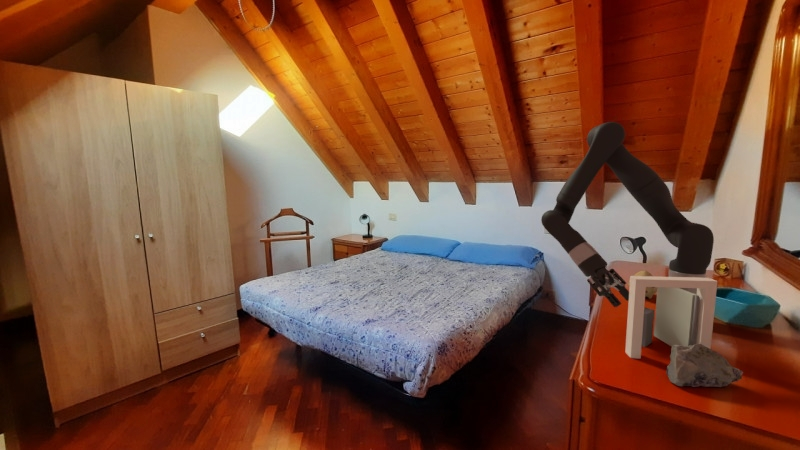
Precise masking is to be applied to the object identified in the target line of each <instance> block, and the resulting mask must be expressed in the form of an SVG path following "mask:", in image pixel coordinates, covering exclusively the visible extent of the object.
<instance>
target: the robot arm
mask: <svg viewBox="0 0 800 450" xmlns="http://www.w3.org/2000/svg"><path fill="white" fill-rule="evenodd" d="M625 137H626V131H625V128H624V126H623V125H622V124H621V123H619V122H615V121H607V122H604V123H600V124H598V125H597V126H594V127H592V129H591V130H590V131H589V132H588V134H587V137H586V142H587V145H588V147H589V149H587V153H586V154H585V156H584V157H583V159H582V160H581V162H580V163H579V165H578V166H577V167H576V168H575V170H574V171H573V172H572V173H571V175H570V176H569V177H568V178H567V179H566V181H565V182H564V185H563V186H562V188H561V189H560V190H559V192H558V194H557V196H556V199H555V200H556V201H555V202H556V203H555V206H554V208H553V209H550V210H547V211H545V212H544V213H543V214H542V216H541V224H542V226H543V228H544V229H545V230H546V232H548V233H549V234H550V235H551V236H552V237H553V238H554V239H555V240H556V241H557V242H558V243H559V244H560V245H561V247H562V248H563V249H564V251H565V252H566V253H567V254H568V255H569V257H570V258H571V260H572V261H573V263H574V264H575V265H576V266H577V267H578V269H579V270H580V271H581V273H582V274H583V276H585V277H587V278H588V279H586V280H587V283H588V284H589V286H591V288H592V289H593V290H594V292H595V293H596V294H597V295H598V296H599V297H603V298H606V299H607V301H608V302H609V303H610V304H611V305H612V307H614V308H617V307H619V306H620V305H622V303H621V301H620V300H619V298H618V297H617V296H616V295H615V294H614V293H613V292H612V289H611V288H614V289H615V290H616V291H618V292H619V294H620V296H622V297H623V298H624V299H625V301H627V302H629V290H628V289H627V288H626V284H627V282H626V281H625V280H624V279H623V277H622V276H620V274H619V273H618V272H617V271H616V270H615V269H614V268H611V269H609V270H608V269H607V268H606V267H607V266H608V263H607V261H606V260H605V258H603V256H601V255H600V253H599V252H598V251H597V250H596V249H595V248H594V247H593V246H592V245H591V244H590V243H589V242H588V241H587V240H586V239H585V238H584V236H582V234H581V233H580V232H579V231H577V230H576V229H575V228H573V227H572V226H571V224H570V221H571V220H572V216H573V215H574V212H575V210H576V208H577V205H578V204H580V201H581V200H582V198H583V196H584V195H585V193H586V191H587V190H588V188H589V187H590V185H591V184H592V182H593V181H594V179H595V178H596V176H597V175H598V173H599V172H600V170H601V169H602V168H603V166H605V164H606V165H607V166H608V167H609V168H610V169H611V170H612V172H613V174H614V175H615V176H616V178H617V179H618V180H619V182H621V184H622V185H623V186H624V187H625V189H626V190H627V192H629V194H630V195H631V196H632V198H634V200H635V201H636V202H637V203H638V204H639V205H640V207H641V208H642V209H644V210H645V212H647V214H648V215H649V216H650V218H652V219H653V221H655V223H656V224H657V226H658V227H659V229H660V230H661V232H662V234H663V235H664V237H665V238H666V240H667V241H668V243H670V244H671V245H672V246H674V247H675V248H677V254H676V257H675V258H674V259H671V260H670V261H669V264H668V276H667V277H700V278H707V275H706V274H707V269H708V267H709V266H710V264H711V260H712V256H713V255H712V254H713V250H714V243H715V242H714V241H715V240H714V237H715V236H714V234H713V231H712V229H711V228H710V227H708V226H706V225H704V224H702V223H696V222H691V221H690V220H689V219H687V218H686V217H685V216H684V215H683V214H682V213H681V211H679V209H678V208H677V207H676V205H675V204H674V201H673V198H672V195H671V192H670V189H669V187H668V185H667V184H666V182H665V181H664V180H663V179H662V177H660V175H659V174H658V173H657V172H656V171H655V170H654V169H653V168H651V167H650V166H649V165H648V164H646V163H645V162H643V161H642V160H640V159H638V158H637V157H636V156H634V155H633V154H632V153H631V152H630V150H628V149H627V148H626V146H625V145H624V144H623V142H624V140H625ZM680 289H683V290H686V291H688V292H691V293H693V294H696V295H697V288H680Z"/></svg>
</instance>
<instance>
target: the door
mask: <svg viewBox="0 0 800 450" xmlns="http://www.w3.org/2000/svg"><path fill="white" fill-rule="evenodd" d="M655 302H656V303H655V311H654V324H653V337H655V338H657V339H658V340H660V341H662V342H664V343H665V344H667V345H668V346H670V347H671V348H672V346H673V345H680V346H690V345H692V346H693V345H695V335H696V324H697V313H698V303H699V296H697V295H696V294H693V293H691V292H688V291H686V290H683V289H680V288H668V287H657V292H656V301H655Z"/></svg>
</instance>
